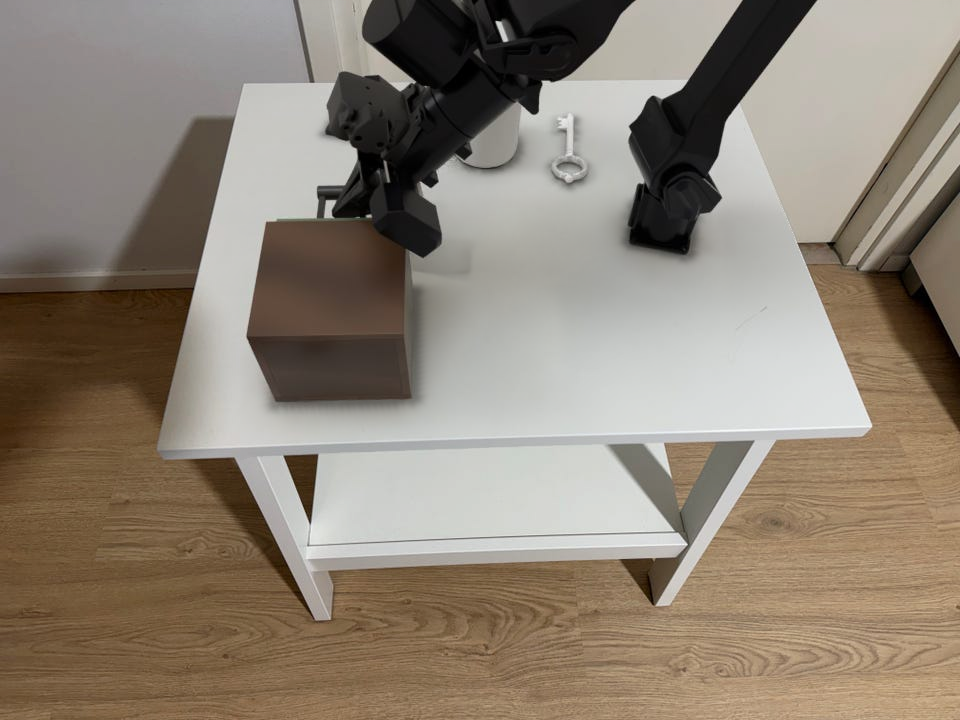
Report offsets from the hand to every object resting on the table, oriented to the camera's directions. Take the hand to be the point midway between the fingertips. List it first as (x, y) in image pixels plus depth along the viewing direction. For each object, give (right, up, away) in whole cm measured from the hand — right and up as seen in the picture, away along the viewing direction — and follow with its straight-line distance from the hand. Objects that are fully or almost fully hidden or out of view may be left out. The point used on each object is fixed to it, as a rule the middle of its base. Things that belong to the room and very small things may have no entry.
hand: (335, 216), depth 67 cm
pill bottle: (+14, +12, +18) cm, 26 cm away
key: (+24, +12, +18) cm, 33 cm away
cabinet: (+1, -12, +2) cm, 12 cm away
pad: (-2, +15, +20) cm, 25 cm away
